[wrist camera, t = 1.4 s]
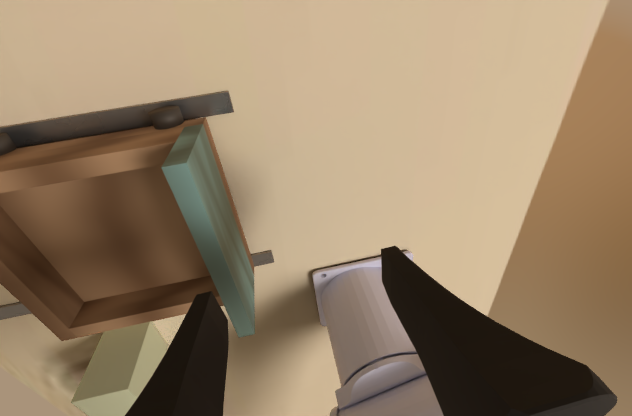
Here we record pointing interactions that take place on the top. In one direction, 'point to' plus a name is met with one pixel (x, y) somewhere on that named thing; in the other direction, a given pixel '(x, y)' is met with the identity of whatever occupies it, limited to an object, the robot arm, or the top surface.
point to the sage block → (120, 369)
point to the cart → (122, 228)
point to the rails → (111, 123)
